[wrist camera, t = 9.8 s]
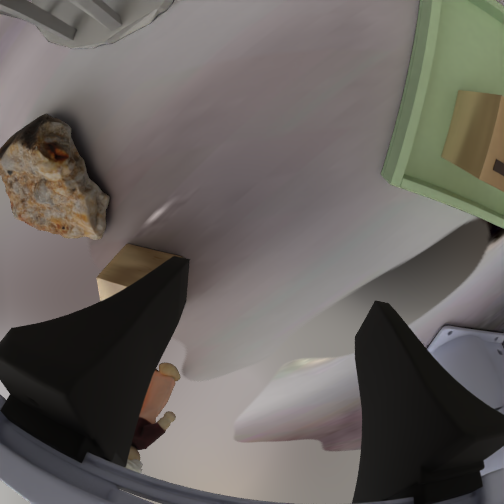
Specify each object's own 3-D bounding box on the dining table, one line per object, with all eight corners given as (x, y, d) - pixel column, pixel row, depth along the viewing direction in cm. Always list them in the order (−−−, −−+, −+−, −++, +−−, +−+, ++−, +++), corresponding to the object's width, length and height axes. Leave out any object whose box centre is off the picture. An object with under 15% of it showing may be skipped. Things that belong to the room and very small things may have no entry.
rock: (13, 143, 18) (39, 256, 21) (-32, 143, 12) (-1, 280, 15) (96, 102, 18) (124, 230, 21) (58, 86, 12) (93, 252, 15)
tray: (544, 56, 9) (560, 57, 7) (503, 222, 16) (516, 234, 14) (422, -27, 9) (435, -37, 7) (380, 174, 16) (390, 184, 15)
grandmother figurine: (166, 351, 27) (119, 469, 16) (195, 374, 28) (160, 488, 17) (127, 371, 30) (83, 465, 19) (152, 390, 31) (117, 483, 20)
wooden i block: (182, 256, 21) (159, 296, 17) (180, 304, 23) (161, 345, 19) (126, 243, 21) (95, 278, 17) (129, 290, 23) (104, 327, 19)
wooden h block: (507, 120, 12) (552, 134, 8) (489, 180, 15) (530, 207, 11) (458, 89, 12) (502, 95, 8) (440, 156, 15) (480, 180, 11)
